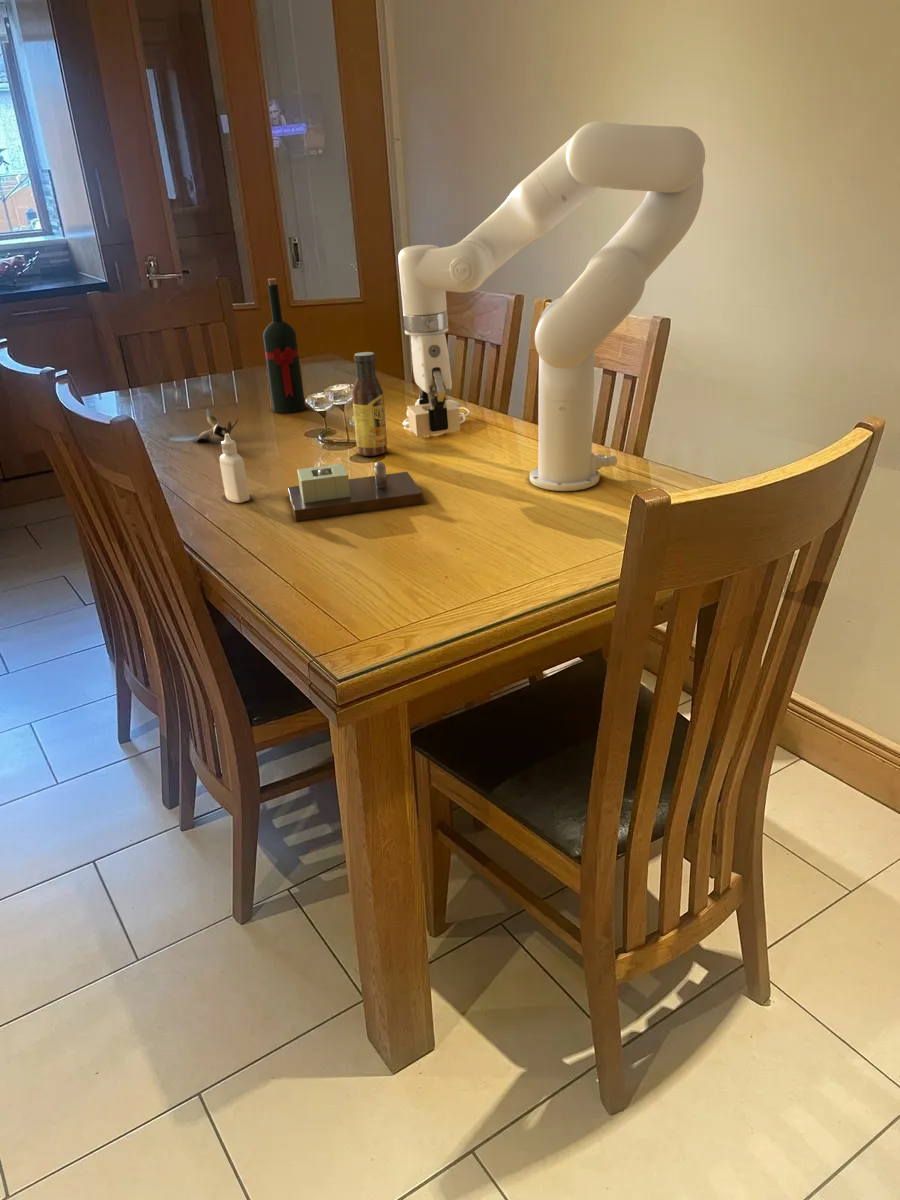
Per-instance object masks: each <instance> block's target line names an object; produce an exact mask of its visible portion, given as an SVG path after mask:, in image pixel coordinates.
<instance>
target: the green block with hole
mask: <svg viewBox="0 0 900 1200" xmlns="http://www.w3.org/2000/svg"><path fill="white" fill-rule="evenodd" d="M320 469H326V470H327V471H328V472H329V475H322V476H317V473H318V471H319V470H320ZM296 471H297V478H298V486H299V487H300V492H301V495H302V498H303V501H304V503H309V502H316V501H323V500H331V499H339V498H346V497H350V488H349V479H350V478H349V474H348V472H347V469H346V468H345V466H344V464H343V463H335V464H329V465H328V464H327V465H320V466H311V467H305V468H298V469H296Z"/></svg>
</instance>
